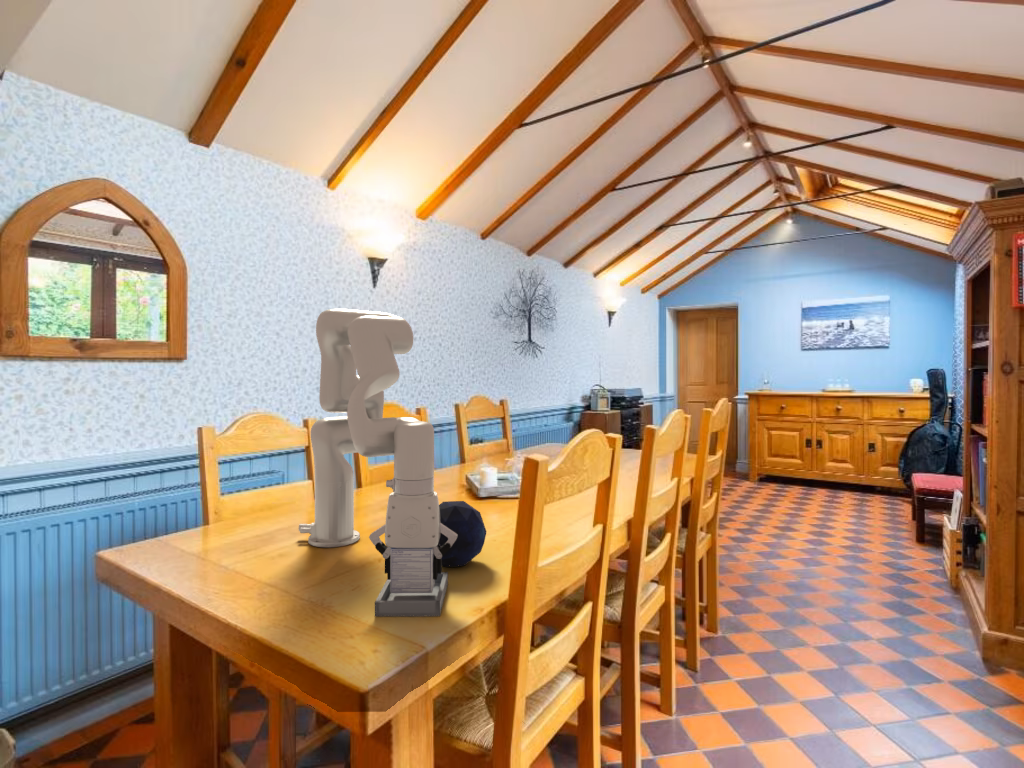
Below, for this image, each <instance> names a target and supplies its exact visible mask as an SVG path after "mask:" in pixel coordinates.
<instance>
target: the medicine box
mask: <svg viewBox="0 0 1024 768" xmlns="http://www.w3.org/2000/svg"><path fill="white" fill-rule="evenodd" d="M390 554H391V589H390V592H391V593H432V592H433V588H434V584H435V580H434V579H433V559H434V556H435V555H434V553H433V548H430V549H395V548H391V550H390Z"/></svg>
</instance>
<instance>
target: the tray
mask: <svg viewBox="0 0 1024 768" xmlns="http://www.w3.org/2000/svg"><path fill="white" fill-rule="evenodd" d="M448 579H449V572H448V571H442V572H441V574H438V577H437V580H435V584H434V588H433V592H432V593H391V592H390V589H391V579H390V580H388V579H386V581H385V582H384V584H383V586H382V588H381V590H380V591H379V594H378V595H377V597H376V599H375V601H374V617H441V614H442V608H443V606H444V602H445V597H446V593H447V588H448V585H449V584H448V583H449V580H448Z"/></svg>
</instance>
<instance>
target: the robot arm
mask: <svg viewBox="0 0 1024 768" xmlns="http://www.w3.org/2000/svg"><path fill="white" fill-rule="evenodd" d="M413 332H414V331H413V329H412V326H411V325H410V323H409V322H408V321H407V320H406V319H405V318H403V317H401V316H397V315H394V314H391V313H388V312H383V311H382V312H381V311H372V310H370V311H369V310H359V309H348V308H331V309H329V308H328V309H326V310H323V311H322V312H321V313H319V314H318V317H317V320H316V326H315V335H316V339H317V343H318V347H319V351H320V362H321V363H320V378H319V394H318V395H319V404H320V407H321V409H322V410H323V411H324V412H326V413H333V414H335V413H337V414H339V413H340V414H341V413H342V414H343V413H346V415H345V416H329V417H328V416H327V417H324V418H321V419H318V420H316V421H315V422H314V423H313V424H312V426H311V428H310V442H311V448H312V454H313V455H312V456H313V464H314V465H313V466H314V468H313V469H314V522H311V523H309V524H308V523H299V524H298V532H299V533H300V534H309V536H308V538H307V542H308V544H309V545H310V546H313V547H317V548H337V547H344V546H348V545H351V544H354V543H356V542H358V541H359V540H360V538H361V536H360V535H361V534H360V532H359V531H357V530H355V529H354V525H355V523H354V522H355V520H354V518H355V516H354V514H355V511H354V505H355V502H354V500H355V499H354V498H355V494H354V493H355V492H354V491H355V490H354V489H355V487H354V485H355V484H354V482H355V481H354V480H355V478H354V477H355V476H354V469H353V467H352V464H350V463H349V461H348V460H347V458H345V456H344V455H347V454H355V453H356V454H357V453H358V455H360V456H363V457H367V458H375V457H385V456H386V457H387V456H393V478H392V479H387V480H385V487H386V488H391V489H392V492H391V493H389V495H388V498H387V499H388V500H387V506H386V514H385V516H386V517H385V524H383V525H382V526H380V527H378V528H377V529H376V530H374V531H373V532H371V533H370V534H369V537H368V538H369V540H370V541H371V543H372V545H373V546H374V547H375V549H376V550H377V551H378V553H379V554H381V556H382V558H384V574H387V579H388V580H390V579H391V554H390V550H391V548H395V549H430V548H433V553H434V555H435V556H434V559H433V579H434V580H437V577H438V574H441V572H443V571H442V570H443V569H442V568H443V566H442V556H443V555H444V554H445V553H446V552H447V551H448V550H449V549H450V548H451V546H452V545H453V543H454V542H455V541H456V539H457V534H456V533H455V532H453V531H452V530H450V529H449V528H448V527H446V526H445V525H443V524H442V523H440V509H439V505H440V502H439V497H438V496H439V495H438V492H437V491H435V488H434V487H435V480H434V479H435V428H434V425H433V424H432V423H430V422H429V421H423V420H419V419H418V418H415V417H412V416H400V417H384V406H385V405H384V403H385V394H384V391H385V390H387V389H389V388H391V387H392V386H393V385H394V384H396V383H397V382H398V380H399V378H400V375H401V374H400V373H401V372H400V369H399V366H398V363H397V360H396V357H395V355H404V354H405V355H406V354H407V353H409V352H410V351H411V349H412V348H413V344H414V333H413ZM441 533H442V534H443V535H445V536H446V537H448V540H447V542H446V543H445V544H444V545H443V546H441V545H440V544H439V539H440V535H441ZM383 535H384V542H383V541H382V540H381V538H380V537H381V536H383ZM387 579H386V580H387Z"/></svg>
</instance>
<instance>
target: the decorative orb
mask: <svg viewBox="0 0 1024 768" xmlns="http://www.w3.org/2000/svg"><path fill="white" fill-rule="evenodd" d="M439 509H440V523H442V524H443V525H445V526H446V527H448V528H449V529H450V530H452V531H453V532H455V533H456V534H457V539H456V541H455V542H454V543H453V545H452V546H451V548H450V549H449V550H448V551H447V552H446V553H445V554H444V555H443V556H442V568H447V567H448V568H449V567H450V568H454V567H464V566H466V565H467V564H468V563H470V562H471V561H472V560H473V559H474V558H476V557H477V556H478V555H480V553H481V552H482V549H483V547H484V544H485V541H486V537H487V529H486V526H485V523H484V519H483V518H482V514H481V512H480V511H479V510H477V509H476V508H474V507H473V506H472V505H470V504H468V503H467V502H466V501H464V500H455V501H454V500H452V501H442V502H441V503H439ZM447 540H448V537H446V536H445V535H443V534H442V533H441V535H440V539H439V544H440V545H441V546H443V545H444V544H445V543H446V542H447Z"/></svg>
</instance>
